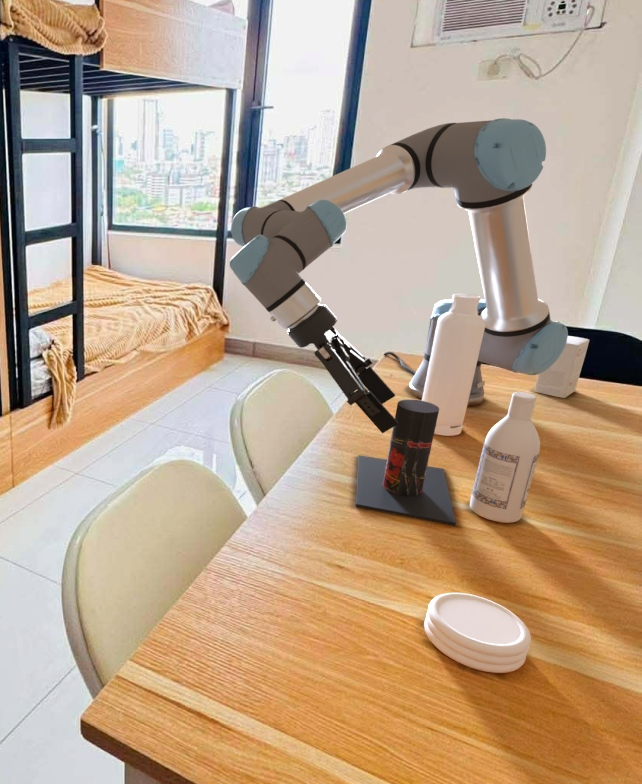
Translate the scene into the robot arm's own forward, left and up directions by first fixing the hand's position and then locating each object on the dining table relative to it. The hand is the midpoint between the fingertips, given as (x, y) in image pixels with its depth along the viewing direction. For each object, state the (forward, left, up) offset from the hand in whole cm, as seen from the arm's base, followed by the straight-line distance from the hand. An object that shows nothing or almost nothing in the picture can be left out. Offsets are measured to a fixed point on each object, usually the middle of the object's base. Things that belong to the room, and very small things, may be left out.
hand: (389, 413), depth 104 cm
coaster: (+37, +10, -14) cm, 41 cm away
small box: (-69, +39, -14) cm, 80 cm away
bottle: (-33, +12, -14) cm, 38 cm away
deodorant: (0, +4, -13) cm, 14 cm away
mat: (-1, +4, -14) cm, 14 cm away
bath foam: (+2, +17, -14) cm, 22 cm away
